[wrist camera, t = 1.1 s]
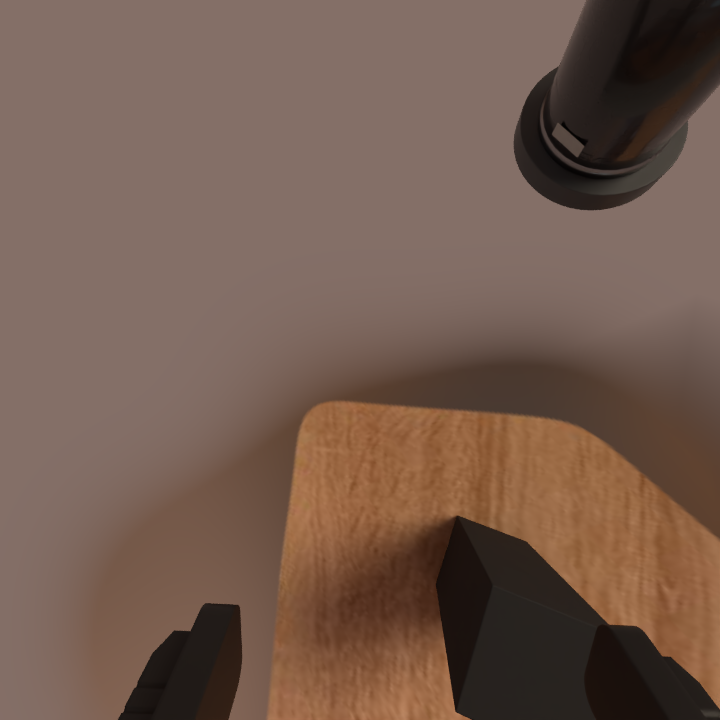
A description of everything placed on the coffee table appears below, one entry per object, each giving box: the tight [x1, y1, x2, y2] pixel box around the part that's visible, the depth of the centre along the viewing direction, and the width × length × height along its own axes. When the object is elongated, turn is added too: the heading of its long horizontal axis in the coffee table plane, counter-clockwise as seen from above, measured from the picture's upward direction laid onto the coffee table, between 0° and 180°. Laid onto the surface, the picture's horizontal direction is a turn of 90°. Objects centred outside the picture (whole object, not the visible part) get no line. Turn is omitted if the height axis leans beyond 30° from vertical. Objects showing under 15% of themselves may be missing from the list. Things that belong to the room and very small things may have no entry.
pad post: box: [436, 516, 609, 720], centre depth 20 cm, size 5×5×12 cm
